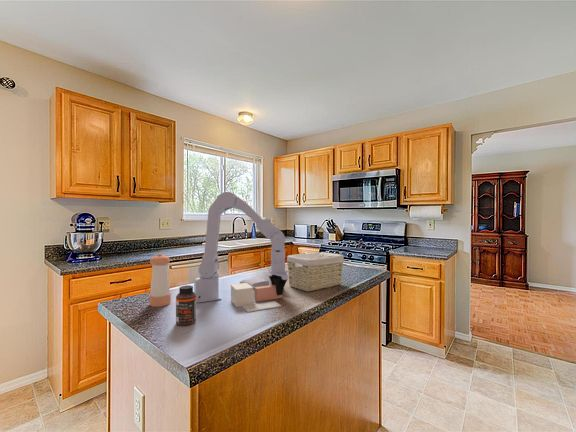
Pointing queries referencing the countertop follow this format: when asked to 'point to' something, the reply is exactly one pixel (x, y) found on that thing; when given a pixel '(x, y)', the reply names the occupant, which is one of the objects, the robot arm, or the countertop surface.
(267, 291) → the pink rectangular block
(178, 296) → the supplement bottle
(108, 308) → the countertop surface
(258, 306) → the mat
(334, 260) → the storage basket
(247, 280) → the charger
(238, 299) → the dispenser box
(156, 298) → the salt shaker
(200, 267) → the robot arm
